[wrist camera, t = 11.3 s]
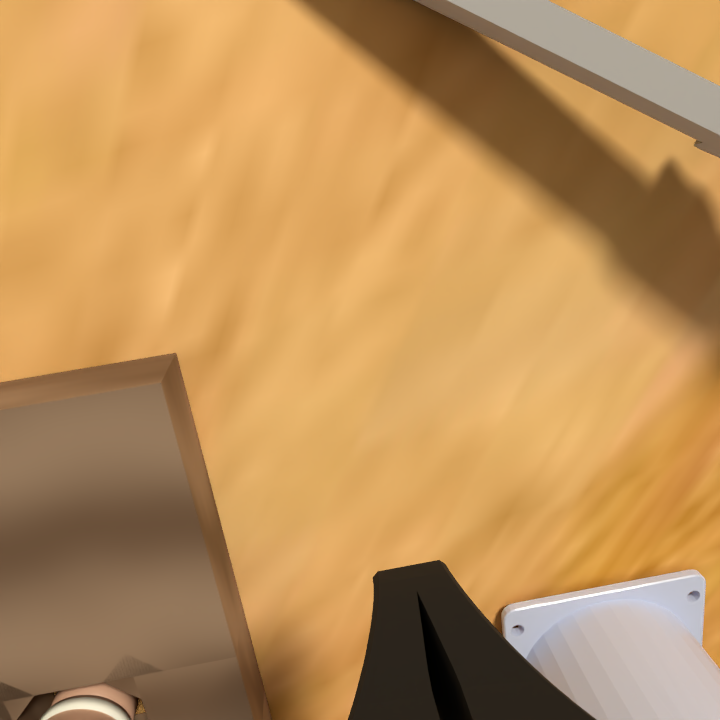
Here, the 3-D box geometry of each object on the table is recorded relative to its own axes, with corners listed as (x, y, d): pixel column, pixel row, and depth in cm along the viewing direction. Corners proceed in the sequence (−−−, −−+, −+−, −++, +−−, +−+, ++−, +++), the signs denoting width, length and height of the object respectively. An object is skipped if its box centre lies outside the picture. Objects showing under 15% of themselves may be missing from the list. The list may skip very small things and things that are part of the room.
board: (282, 760, 26) (282, 822, 24) (12, 814, 26) (-16, 882, 23) (176, 352, 20) (160, 382, 18) (-185, 414, 19) (-250, 452, 17)
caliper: (844, 203, 21) (1063, 231, 15) (824, 233, 21) (1031, 273, 15) (255, -130, 16) (237, -278, 10) (240, -84, 16) (213, -204, 11)
